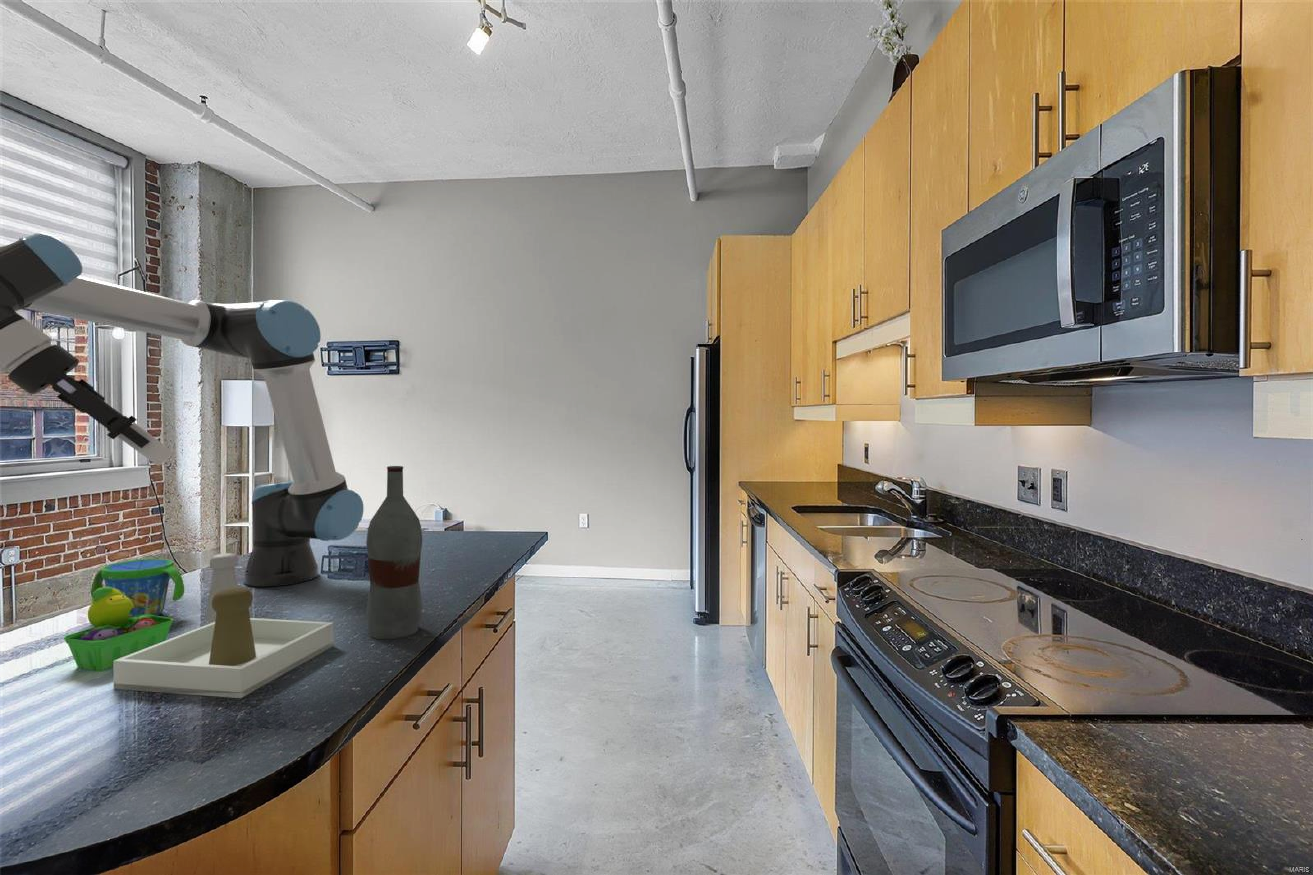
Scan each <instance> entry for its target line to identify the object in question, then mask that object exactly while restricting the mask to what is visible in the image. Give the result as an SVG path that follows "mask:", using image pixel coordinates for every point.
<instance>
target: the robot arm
mask: <svg viewBox="0 0 1313 875" xmlns="http://www.w3.org/2000/svg"><path fill="white" fill-rule="evenodd" d="M82 273H83V265H82V262H81V259H80V258H79V257H78V255H77V254H76V253H75V251H73V250H72V249H71V248H70V246H68V245H67V244H66V243H65V242H63V241H62V240H61V239H59V238H57V237H56V236H53V235H51V234H49V233H46V232H36V233H33V234H31V235H28V236H26V237H19V239H18V240H17V241H15V242H12V243H10V244H7V245H2V246H0V373H1V374H3V373H9V374H8V375H7V377H8V380H9V381H11V382H12V383H14V384H15V385H17V386H18V387H20V389H22V390H24V391H25V392H27V393H28V394H30V395H35V394H38V393H41V392H42V391H44V390H45V389H47V388H48V387H49V386H51V388H52V391H54V392H56V393H58V395H57V396H56V398H58V399H59V400H60V401H62V402H64V404H66V405H69V406H72V408H74V409H75V410H77V411H79V413H82V414H87V415H88V416H90V417H91V418H92V419H93V420H94V421H96V422H98V423H99V424H100V425H102V426H103V427H104V428H106V430H107V432H108V433H107V434H106V436H107V437H109V438H110V439H112V440H115V439H116V438H119V439H120V440H122V441H123V442H124V443H126V444H127V445H128V446H130V447H131V448H133V449H134V450H135V451H136V452H138V453H139V454H141V455H142V456H144V457H145V458H146V459H147V460H149V461H150V462H151V463H153V464H155V465H156V466H157V467H159V466H161V465H162V464H163V463H164V462H166V461H167V460H168V459H169V458H171V456H173V455H174V451H171V449H170V448H169V447H168V446H166V445H165V444H164V443H162V442H161V441H160V440H159V439H157V438H155V436H154V435H152V434H150V433H149V432H148V431H146V430H145V429H144V428H143V427H141V426H140V425H139V424H137V423H136V421H137V420H138V419H137V418H136V417H134V416H133V415H130V416H129V417H127V416H126V415H124V414H122V413H120V412H119V411H118V410H116V409H115V408H114V407H112V406H111V405H109V404H108V403H107V402H106V401H105V399H106V398H105V396H103V395H101V394H100V393H99V392H98V391H96V390H95V388H94V386H92V385H91V384H89V383H88V382H87V381H86V380H85V379H82V378H81V379H80V380H76V379H75V378H73V377H72V376H69V375H67V374H68V373H70V372H71V371H72V370H74V369H75V368H76V367H78V365H79V364H80V360H79V359H78V358H77V357H76V356H74V355H73V354H72V353H70V352H69V351H68V350H66V349H65V348H64V347H62V346H61V345H60V344H51V343H52V341H53V340H52V338H51V337H50V336H49V335H47V334H46V333H45V332H43V331H42V330H41V329H40V328H38V327H37V326H35V325H34V324H33V323H31V322H30V321H29V320H28V319H27V318H25V317H24V316H22V315H21V314H19V313H18V311H19V310H21V309H25V310H31V311H35V312H41V313H46V314H50V315H56V316H61V317H64V318H71V319H76V320H82V321H87V322H91V323H96V324H100V325H107V326H112V327H117V328H121V329H122V328H123V329H128V330H133V331H137V332H140V333H141V332H142V333H148V334H152V335H157V336H163V337H167V338H168V337H169V338H172V339H178V340H180V341H181V342H182V343H183V344H184V345H185V346H189V347H193V348H199V349H202V350H206V351H211V352H212V351H213V352H217V353H219V354H220V353H221V354H225V355H228V356H232V357H239V358H245V359H246V358H249V359H250V363H251V366H252V370H253V371H254V372H256V373H257V374H259V375H261V376H263V378H264V382H265V384H266V388H267V392H268V395H269V398H270V402H271V406H272V409H273V414H274V416H275V420H276V424H277V427H278V430H279V434H280V438H281V441H282V445H283V449H284V451H285V455H286V458H287V459H286V460H287V464H288V465H289V466H288V467H289V471H290V473H291V477H292V481H288V482H287V481H286V482H278V483H269V484H261V485H257V486H256V487H255V488H254V489H253V494H252V500H251V504H252V505H251V506H252V549H251V550H252V551H251V553H250V556H249V559H248V562H247V565H246V569H245V570H244V572H243V583H244V584H245V585H247V586H252V587H277V586H287V585H286V584H288V585H293V584H292V583H294V584H297V583H296V582H299V583H304V582H307V581H310V580H312V579H311V578H313V577H315V578H317V577H318V576H319V565H318V563H317V560H316V557H315V554H314V552H313V549H312V545H311V539H313V540H320V541H323V542H327V541H341V540H344V539H347V538H348V537H349V536H351V535H352V534H353V533H354V532H355V531H356V530H357V529H358V527H359V524H360V522H361V521H362V519H363V517H364V516H363V515H364V509H365V508H364V502H363V499H362V497H361V495H359V493H357V492H356V491H354V490H352V489H348V484H347V480H346V478H345V475H344V474H341V473H340V472H337V470H336V468H335V464H334V460H333V455H332V452H331V448H330V444H329V440H328V436H327V433H326V428H325V425H324V421H323V420H324V419H323V417H322V413H321V410H320V406H319V405H320V404H319V401H318V398H317V394H316V389H315V386H314V382H313V378H312V374H311V371H310V369H311V368H312V366H313V365H314V363H315V362H316V359H315V354H314V353H315V351H316V350H317V349H318V347H319V343H320V342H321V334H322V333H321V329H320V325H319V323H318V320H317V319H316V318H315V316H314V315H313V313H312V312H311V311H310V310H309V309H307V308H305V307H304V306H303V305H302V304H300V303H299V302H295V301H292V300H281V299H280V300H279V299H269V300H263V301H252V302H237V303H214V302H206V301H204V300H203V301H202V300H198V299H194V300H190V301H188V302H187V301H182V300H178V299H174V298H170V297H166V296H162V295H157V294H154V293H150V292H146V291H141V290H138V289H134V288H130V287H126V286H121V285H118V284H113V283H109V282H106V281H102V280H98V279H93V278H89V277H85V276H82ZM317 575H318V576H317ZM316 576H317V577H316ZM309 579H310V580H309ZM313 579H314V578H313ZM306 580H307V581H306ZM303 581H304V582H303Z"/></svg>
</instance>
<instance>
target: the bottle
mask: <svg viewBox="0 0 1313 875" xmlns="http://www.w3.org/2000/svg"><path fill="white" fill-rule="evenodd" d="M386 469H387V471H386V472H387V475H386V477H387V478H386V497H385V498H384V500H383V502H381V505H380V506H379V507H378V509H377V510H376V512H375V514H374V515H373V517H371V520H370V521H369V525H368V528H367V534H366V541H365V542H366V551H367V552H366V553H367V560H368V564H367V565H368V573H369V576H368V577H369V589H368V595H367V604H366V610H365V615H366V624H367V630H368V632H369V635H370V637H372V638H374V639H377V640H395V639H401V638H406V637H408V636H409V637H410V636H412V635H414V634H415V633H417V632H418V630H419V627H420V625H421V624H420V623H421V620H422V611H423V601H422V593H421V592H422V591H421V587H420V581H419V580H420V569H421V556H422V547H423V533H422V525H421V521H420V518H419V517H418V515H417V513H416V512H415V510H414V509H413V508H412V507H411V505H410V503H409V502H408V500H407V499H406V497H405V495H404V472H403V470H404V466H402V465H389V466H387V467H386Z"/></svg>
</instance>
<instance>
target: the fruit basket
mask: <svg viewBox="0 0 1313 875" xmlns="http://www.w3.org/2000/svg"><path fill="white" fill-rule="evenodd" d="M91 598H92V599H91V603H90V605H89V608H88V610H87V619H88V622H89V623H90V624H91V625H92V626H93V627H91V628H87V629H83V630H81V631H77V632H76V631H75V632H74V633H70V634H68V635H65V636H64V637H63V639H64V641H65V644H67V645H68V647H69V650H70V652H71V655H72V657H73V659H74V662H75V664H76V666H77V668H82V669H85V670H89V671H90V670H91V671H97V672H102V670H103V671H105V670H104V669H106V668H109V669H111V668H110V667H112V668H113V661H114V660H117V659H119V658H122V657H125V656H127V655H130V654H132V653H135V652H138V651H140V650H143V649H145V648H148V647H151V646H153V645H156V644H158V643H161V642H164V641H166V640H167V637H168V635H169V631H170V628H171V626H172V625H173V622H174V618H173V617H166V616H160V615H158V616H154V615H138V616H134V617H130V618H129V614H130V611H131V609H133V608H134V605H133V602H132V601H131V600H130V599H129V598H128V597H127V596H125V595H123V594H122V593H121V592H120V591H119V590H118V589H115V588H111V587H105V586H103V587H102V588H98V589H97V590H95V591H94V593H93V595H92V596H91ZM106 670H107V669H106Z"/></svg>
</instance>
